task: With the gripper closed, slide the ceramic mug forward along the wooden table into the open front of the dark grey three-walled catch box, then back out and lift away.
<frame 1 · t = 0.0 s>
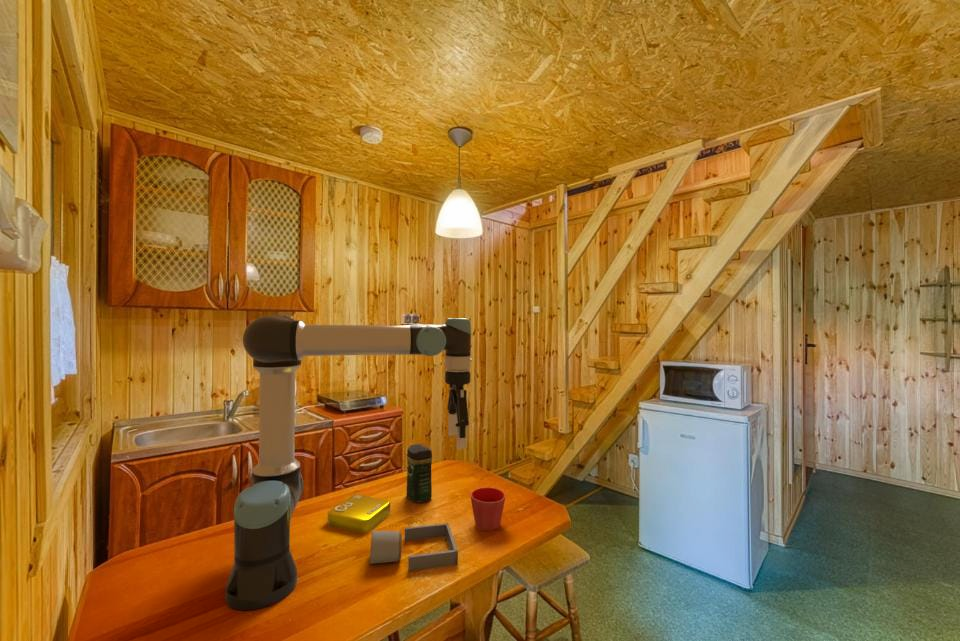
hand: (456, 441, 122), 28 cm above the table, tool pointing down, fingers open, 13 cm apart
coffee jar: (419, 498, 148), on the table
ceramic mug: (385, 558, 111), on the table
element tile: (359, 520, 132), on the table
flower pot: (487, 525, 129), on the table
catch box: (429, 551, 114), on the table
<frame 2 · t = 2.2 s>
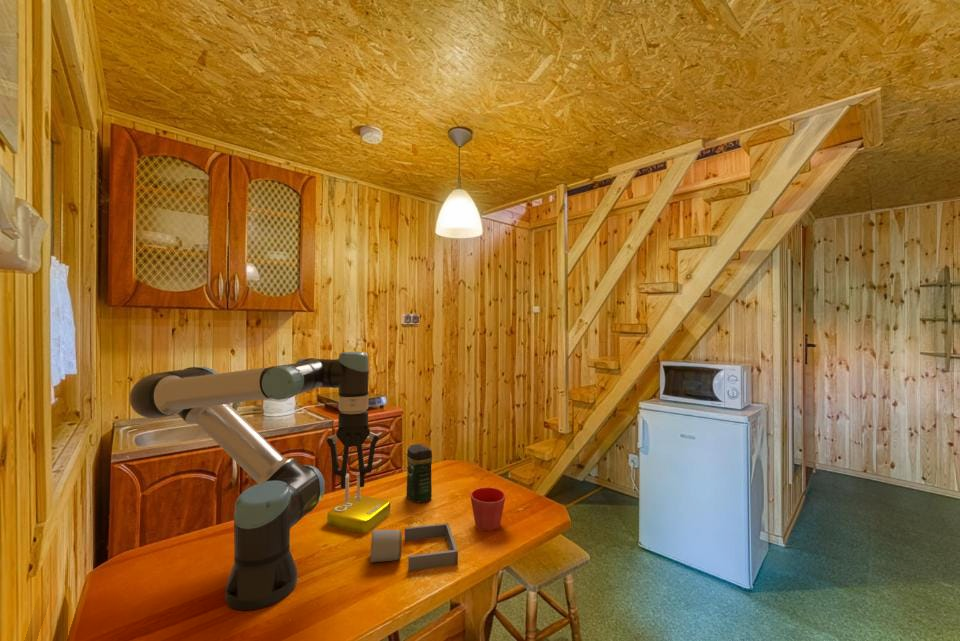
hand: (352, 499, 109), 16 cm above the table, tool pointing down, fingers open, 2 cm apart
nothing on the table moved.
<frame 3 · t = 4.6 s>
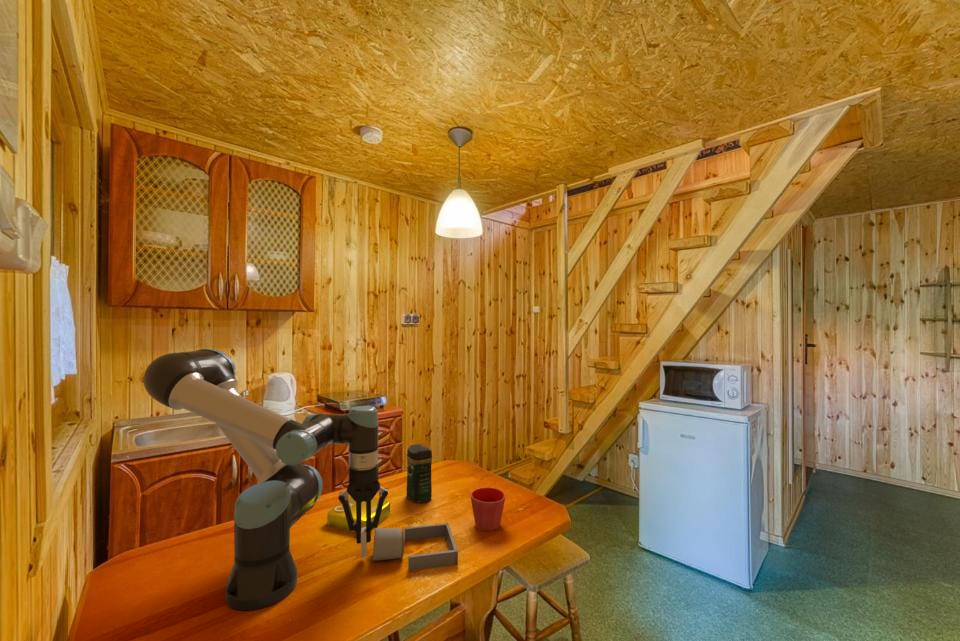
hand: (363, 554, 109), 2 cm above the table, tool pointing down, fingers closed
ceramic mug: (387, 555, 112), on the table, touching gripper
everything else where it was.
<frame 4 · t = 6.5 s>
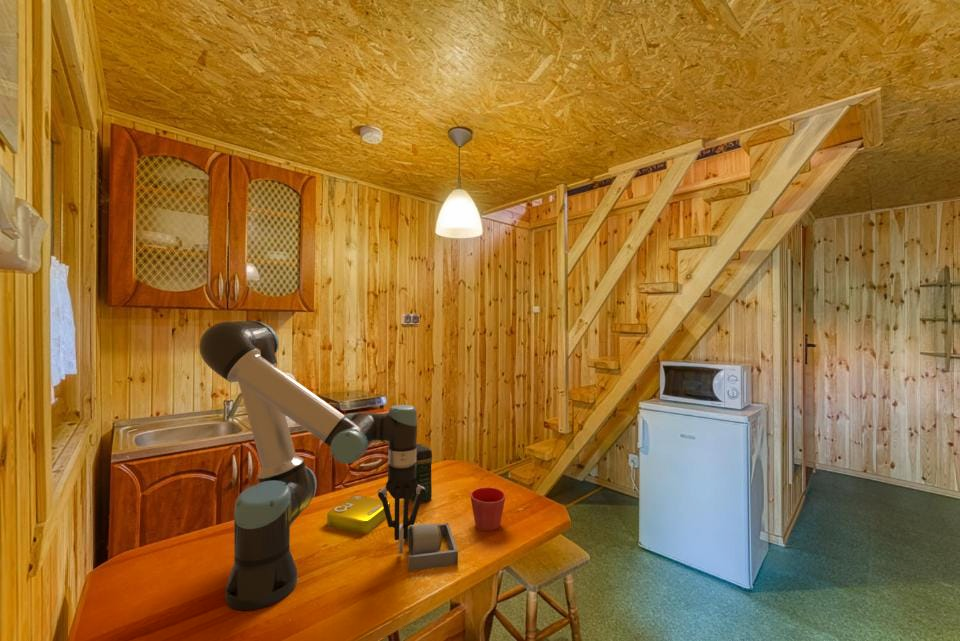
hand: (400, 550, 111), 2 cm above the table, tool pointing down, fingers closed
ceramic mug: (422, 550, 115), on the table, touching catch box, gripper
everything else where it was.
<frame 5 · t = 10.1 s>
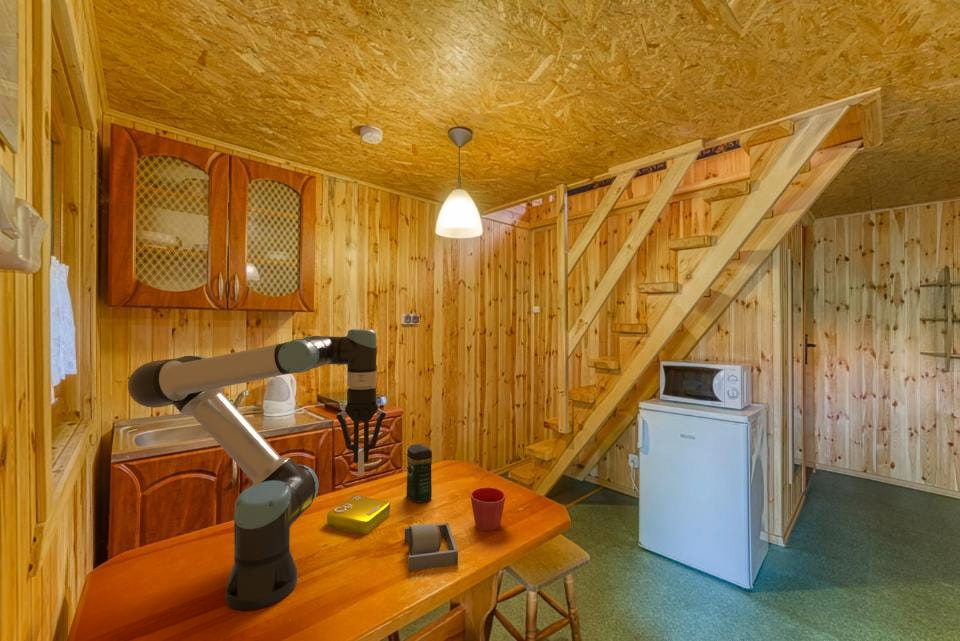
hand: (361, 474, 111), 22 cm above the table, tool pointing down, fingers closed
ceramic mug: (421, 551, 115), on the table
everything else where it was.
at the end: ceramic mug inside the target area on the catch box (2.9 cm from its centre), point 0.0 cm above the catch box's base; ceramic mug tilted 0° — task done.
